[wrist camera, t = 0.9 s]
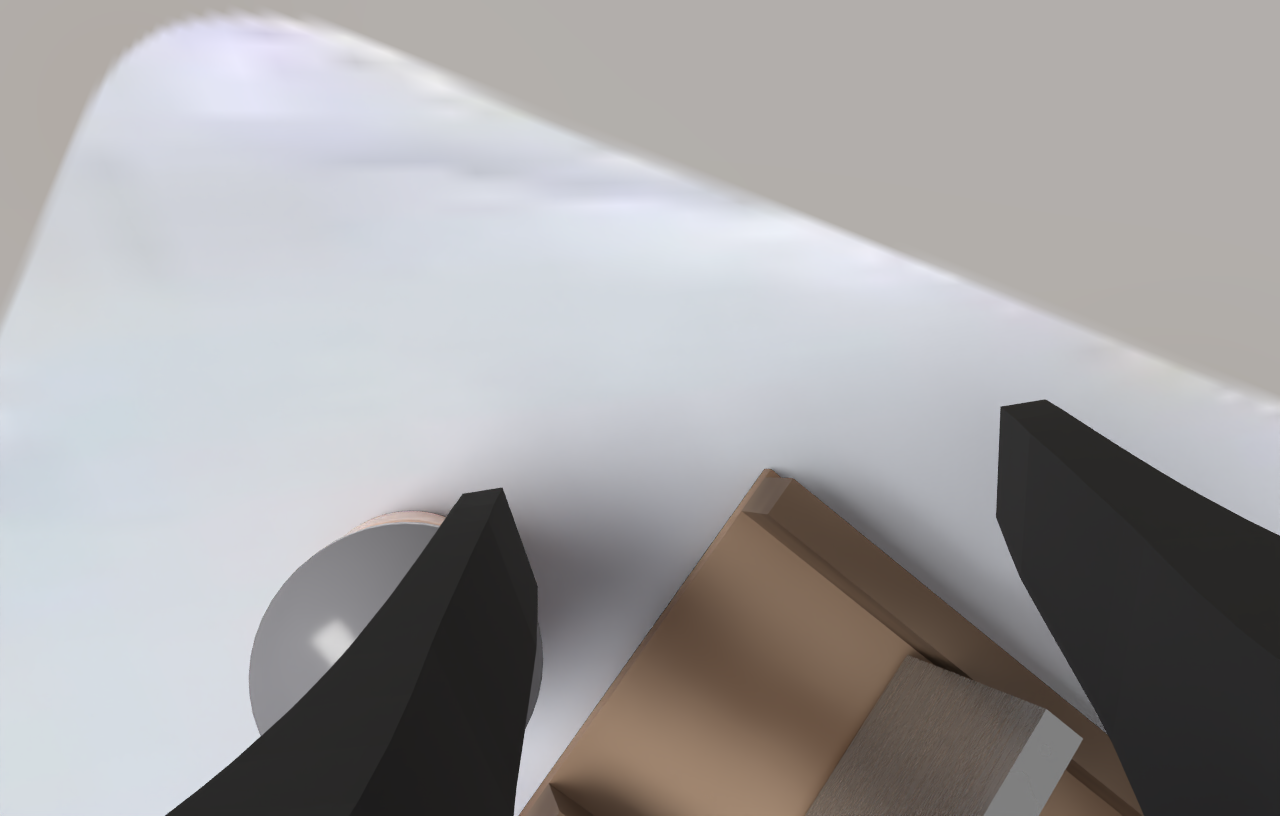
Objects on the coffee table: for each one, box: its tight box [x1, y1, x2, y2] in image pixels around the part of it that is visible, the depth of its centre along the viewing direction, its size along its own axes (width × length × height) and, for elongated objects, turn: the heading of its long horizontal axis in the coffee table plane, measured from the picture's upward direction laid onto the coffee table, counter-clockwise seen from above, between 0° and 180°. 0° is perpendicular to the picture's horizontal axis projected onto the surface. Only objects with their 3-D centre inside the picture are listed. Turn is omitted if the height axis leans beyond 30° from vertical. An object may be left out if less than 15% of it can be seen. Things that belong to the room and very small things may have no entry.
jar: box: [249, 511, 543, 736], centre depth 20 cm, size 5×5×8 cm
